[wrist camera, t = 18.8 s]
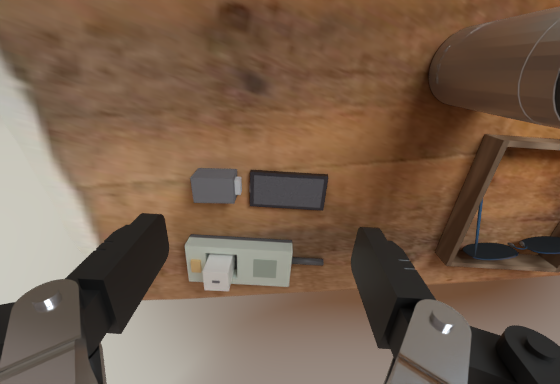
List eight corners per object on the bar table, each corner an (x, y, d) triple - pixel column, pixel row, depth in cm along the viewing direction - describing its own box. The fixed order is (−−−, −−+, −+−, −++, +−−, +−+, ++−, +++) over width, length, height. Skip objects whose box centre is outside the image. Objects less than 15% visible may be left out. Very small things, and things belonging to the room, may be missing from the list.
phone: (327, 173, 40) (328, 176, 39) (322, 206, 42) (323, 210, 41) (250, 168, 40) (249, 171, 38) (250, 202, 42) (249, 206, 41)
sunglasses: (455, 246, 45) (474, 263, 40) (461, 166, 40) (485, 174, 36) (558, 235, 44) (591, 251, 39) (577, 152, 39) (617, 158, 34)
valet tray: (616, 143, 37) (648, 150, 34) (540, 258, 46) (559, 272, 43) (484, 134, 36) (504, 140, 33) (434, 252, 46) (446, 265, 43)
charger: (234, 248, 45) (227, 273, 40) (235, 265, 47) (228, 291, 41) (212, 247, 45) (202, 272, 39) (213, 264, 47) (204, 290, 41)
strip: (325, 242, 45) (328, 256, 42) (319, 275, 49) (322, 291, 45) (190, 234, 45) (183, 248, 41) (194, 268, 48) (187, 283, 45)
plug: (242, 168, 39) (238, 178, 36) (243, 191, 41) (239, 203, 38) (198, 167, 39) (190, 177, 36) (201, 190, 41) (193, 202, 38)
